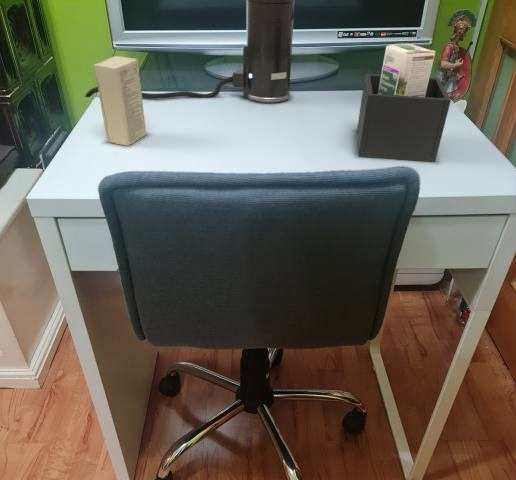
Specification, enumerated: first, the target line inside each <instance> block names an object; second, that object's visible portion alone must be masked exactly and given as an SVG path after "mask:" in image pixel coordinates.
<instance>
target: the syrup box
mask: <svg viewBox="0 0 516 480" xmlns="http://www.w3.org/2000/svg"><path fill="white" fill-rule="evenodd" d="M384 51H385V52H384V56H383V63H382V67H381V74H380V75H381V79H380V85H379V91H378V94H381V95H398V96H414V97H425V95H426V91H427V86H428V82H429V78H431V73H432V70H433V69H432V68H433V64H434V60H435V55H436V50H431V49H428V48H425V47H422V46H419V45H416V44H413V43H394V44H389V45H386V46H385V50H384Z"/></svg>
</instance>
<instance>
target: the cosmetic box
mask: <svg viewBox="0 0 516 480" xmlns="http://www.w3.org/2000/svg"><path fill="white" fill-rule="evenodd" d="M93 68H94V74H95V78H96V85H97V87H98V91H99V92H98V97H99V102H100V109H101V112H102V120H103V125H104V132H105V137H106V142H107V143H111V144H114V145H115V144H116V145H121V146H125V147H128V146H130V145H132V144H133V143H135V142H137V141H138V140H140V139H142V138H143V137H145V136H146V135H147V128H146V119H145V112H144V103H143V98H142V93H143V92H142V87H141V79H140V70H139V60H138V58H132V57H127V56H119V55H114V56H111V57H109V58H107V59H104V60H101V61H99V62H97V63H94V64H93Z"/></svg>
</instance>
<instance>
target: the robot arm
mask: <svg viewBox="0 0 516 480" xmlns="http://www.w3.org/2000/svg"><path fill="white" fill-rule="evenodd" d="M295 2H296V0H246V15H245V16H246V21H245V22H246V25H245V26H246V27H245V28H246V30H245V31H246V32H245V33H246V34H245V37H246V38H245V39H246V40H245V42H246V44H245V45H243V50H242V67H238V68H237V69H236V70H234V72H232V75H231V76H228V77H225V78H223V79H222V80H220V81H219V82H218V83H217V84H216V87H215V90H214V91H211V92H209V93H200V92H193V91H173V92H164V93H150V92H149V93H147V92H141V93H142V99H143V98H144V99H155V100H156V99H170V98H179V97H180V98H181V97H188V98H189V97H190V98H196V99H210V98H214V97H216V96H218V95H219V94H220V92H221V88H222V87H223V86H224V85H226V84H228V83H230V82H232V87H233V88H239V89H242V98H243V99H249V100H251V101H253V102H259V103H266V104H267V103H270V104H271V103H279V102H284V101H287V100H289V99H290V97H291V95H290V94H291V91H290V89H291V74H292V73H291V72H292V71H291V70H292V55H293V54H292V51H293V37H294V35H293V34H294V19H295V18H294V17H295ZM96 93H99V91H98V86H96V87H93V88H90V90H88V92H86V94H85V96H84V98H90V97H92V96H93V95H94V94H96Z"/></svg>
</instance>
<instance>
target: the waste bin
mask: <svg viewBox="0 0 516 480" xmlns="http://www.w3.org/2000/svg"><path fill="white" fill-rule="evenodd" d="M380 79H381V74H373V73H365V74H364V80H363V87H362V92H361V93H362V94H361V100H360V107H359V113H358V120H357V127H356V138H357V140H356V141H357V155H358V157H360V158H374V159H388V160H399V161H415V162H416V161H417V162H430V163H435V162H436V159H437V157H438V152H439V148H440V145H441V140H442V136H443V132H444V129H445V125H446V121H447V118H448V114H449V110H450V105H451V101H452V100H451V97H450V96H449V94H448V92H447V90H446V88H445V86H444V84H443V83H442V81H441V79H440V77H430V78H429V82H428V86H427V91H426V95H425V97H414V96H398V95H381V94H378V91H379V85H380Z"/></svg>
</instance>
